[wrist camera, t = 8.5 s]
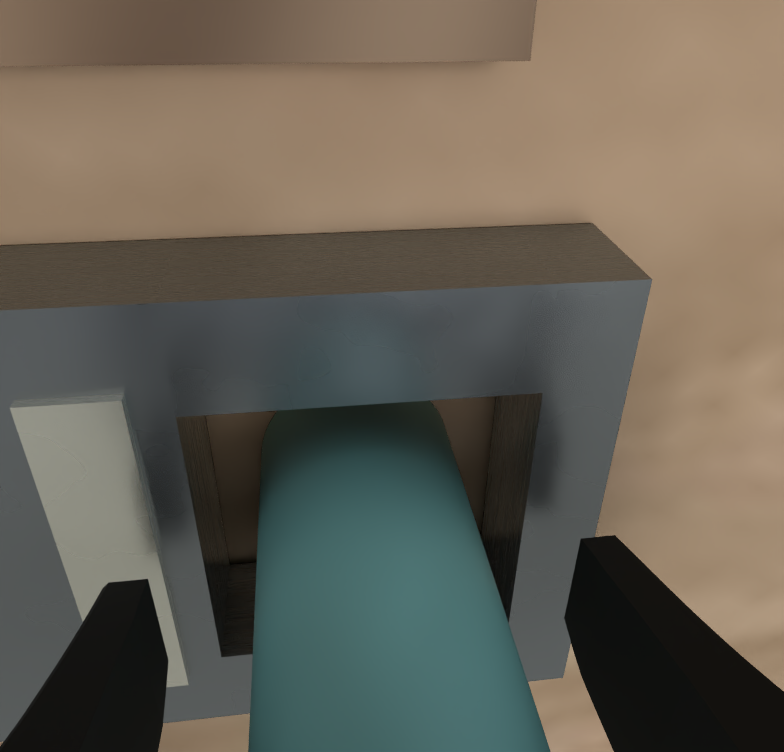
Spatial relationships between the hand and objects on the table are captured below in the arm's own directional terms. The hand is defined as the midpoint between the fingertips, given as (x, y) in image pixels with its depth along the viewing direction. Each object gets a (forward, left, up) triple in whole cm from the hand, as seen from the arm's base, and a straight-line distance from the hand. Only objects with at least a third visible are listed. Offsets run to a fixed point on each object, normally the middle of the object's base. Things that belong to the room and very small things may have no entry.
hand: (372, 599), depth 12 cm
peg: (0, 0, -4) cm, 4 cm away
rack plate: (-4, 0, -4) cm, 6 cm away
